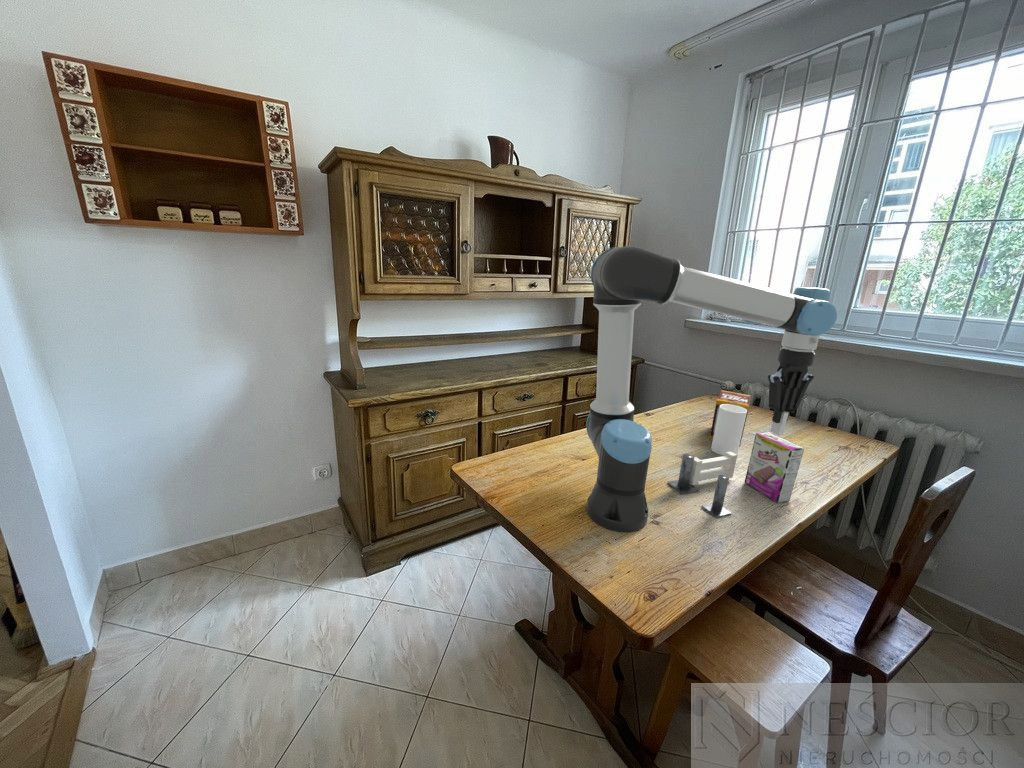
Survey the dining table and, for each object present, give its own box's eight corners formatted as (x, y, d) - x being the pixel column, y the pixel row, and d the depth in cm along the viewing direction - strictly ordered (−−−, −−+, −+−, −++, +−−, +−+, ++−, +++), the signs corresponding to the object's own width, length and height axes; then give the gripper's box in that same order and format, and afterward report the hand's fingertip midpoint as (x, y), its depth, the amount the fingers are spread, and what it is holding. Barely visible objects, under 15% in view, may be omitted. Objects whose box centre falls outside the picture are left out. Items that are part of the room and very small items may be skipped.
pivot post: (682, 494, 111) (688, 462, 109) (667, 483, 117) (672, 452, 114) (698, 491, 113) (705, 459, 111) (683, 480, 119) (689, 450, 116)
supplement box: (743, 432, 156) (751, 395, 152) (740, 446, 144) (749, 406, 139) (713, 426, 161) (721, 389, 157) (708, 439, 149) (716, 399, 144)
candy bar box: (742, 483, 119) (754, 432, 114) (755, 480, 120) (767, 430, 116) (777, 504, 109) (791, 449, 104) (790, 501, 110) (805, 447, 106)
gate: (691, 485, 114) (696, 461, 112) (685, 481, 117) (690, 458, 114) (732, 477, 120) (737, 454, 118) (725, 473, 122) (730, 451, 120)
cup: (740, 457, 135) (750, 413, 130) (714, 454, 136) (723, 411, 132) (732, 447, 143) (742, 405, 138) (708, 444, 144) (716, 403, 139)
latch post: (716, 518, 101) (724, 483, 98) (701, 507, 106) (708, 473, 103) (731, 515, 103) (739, 480, 100) (715, 504, 108) (722, 471, 105)
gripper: (791, 352, 98) (768, 440, 105) (831, 351, 101) (807, 437, 108) (765, 346, 105) (746, 429, 112) (804, 345, 108) (783, 426, 115)
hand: (776, 433), depth 110 cm, fingers closed
